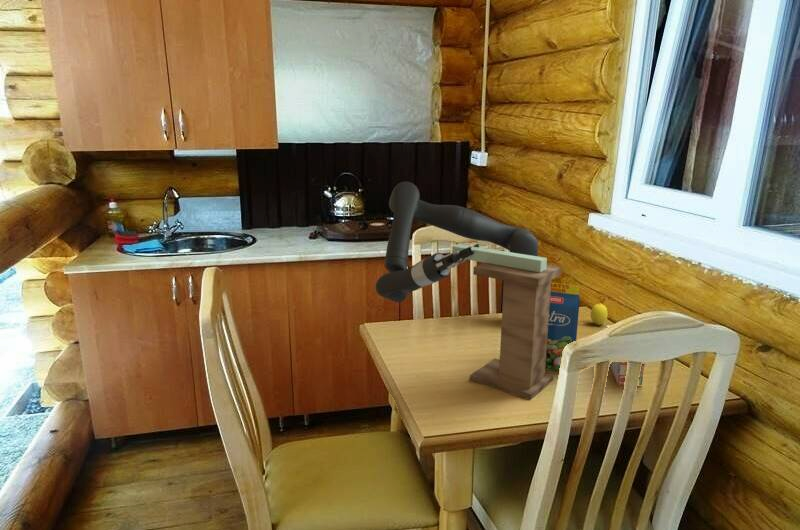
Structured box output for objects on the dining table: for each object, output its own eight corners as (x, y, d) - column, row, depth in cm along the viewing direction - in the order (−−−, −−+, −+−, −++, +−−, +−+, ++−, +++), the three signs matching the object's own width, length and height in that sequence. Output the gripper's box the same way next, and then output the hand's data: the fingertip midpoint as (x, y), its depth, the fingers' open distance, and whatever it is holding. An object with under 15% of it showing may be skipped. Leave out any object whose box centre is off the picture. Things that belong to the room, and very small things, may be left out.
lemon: (608, 328, 192) (611, 305, 190) (592, 328, 192) (594, 305, 190) (603, 322, 197) (605, 300, 195) (587, 322, 198) (589, 300, 196)
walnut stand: (494, 363, 164) (499, 256, 156) (553, 380, 154) (561, 267, 146) (469, 380, 154) (473, 266, 146) (530, 399, 143) (538, 278, 135)
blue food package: (571, 374, 157) (578, 288, 151) (528, 366, 162) (533, 283, 156) (574, 365, 163) (581, 282, 157) (532, 358, 168) (537, 277, 161)
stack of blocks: (603, 353, 172) (607, 315, 168) (625, 355, 171) (629, 316, 167) (617, 385, 151) (622, 342, 148) (642, 387, 150) (647, 344, 147)
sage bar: (458, 254, 158) (459, 244, 157) (546, 269, 143) (546, 258, 142) (452, 256, 155) (452, 246, 155) (540, 272, 140) (541, 260, 139)
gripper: (410, 263, 158) (456, 240, 147) (439, 253, 169) (483, 231, 158) (421, 287, 158) (468, 266, 147) (449, 276, 168) (494, 256, 157)
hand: (476, 248), depth 152 cm, fingers closed on sage bar, 3 cm apart
